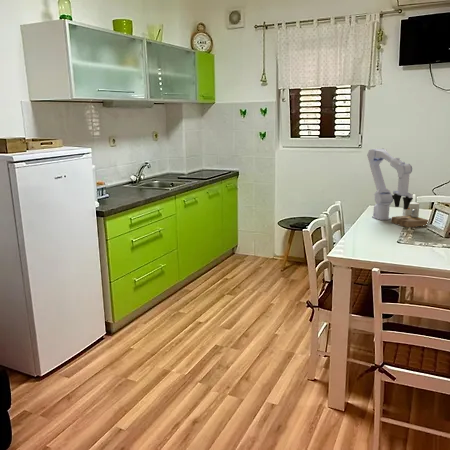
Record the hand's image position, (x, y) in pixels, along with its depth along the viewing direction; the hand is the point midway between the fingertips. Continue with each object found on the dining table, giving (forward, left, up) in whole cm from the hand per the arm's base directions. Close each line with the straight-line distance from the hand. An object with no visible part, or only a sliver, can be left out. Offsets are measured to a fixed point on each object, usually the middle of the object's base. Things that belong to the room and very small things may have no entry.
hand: (401, 208), depth 255 cm
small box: (-7, +13, -10) cm, 18 cm away
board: (+3, +4, -9) cm, 11 cm away
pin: (+3, +7, -9) cm, 12 cm away
